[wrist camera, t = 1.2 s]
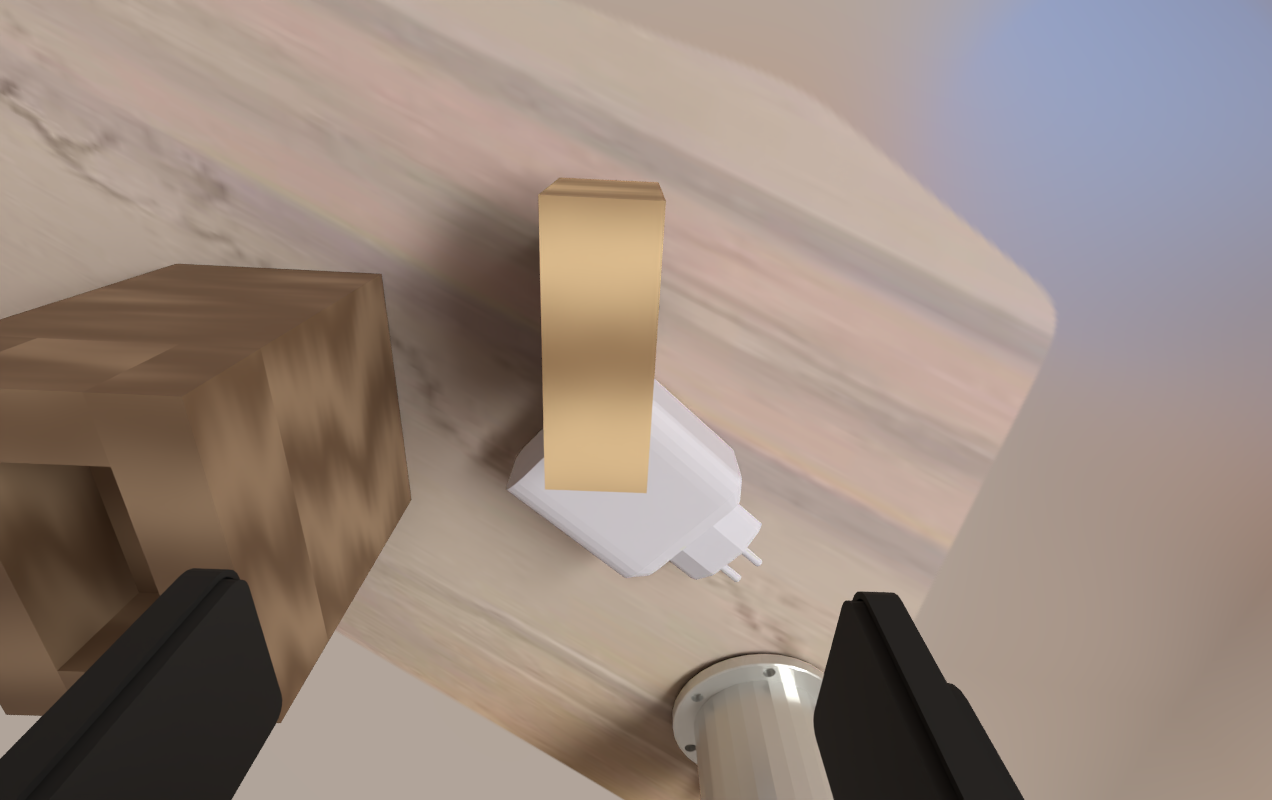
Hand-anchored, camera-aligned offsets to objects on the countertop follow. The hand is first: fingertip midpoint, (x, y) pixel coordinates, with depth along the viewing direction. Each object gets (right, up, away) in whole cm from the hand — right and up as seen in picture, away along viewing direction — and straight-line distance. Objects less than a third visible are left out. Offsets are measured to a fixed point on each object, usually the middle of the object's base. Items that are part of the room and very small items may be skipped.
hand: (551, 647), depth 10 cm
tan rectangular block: (0, +10, +21) cm, 24 cm away
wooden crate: (-17, +4, +24) cm, 30 cm away
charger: (+3, -1, +27) cm, 27 cm away
